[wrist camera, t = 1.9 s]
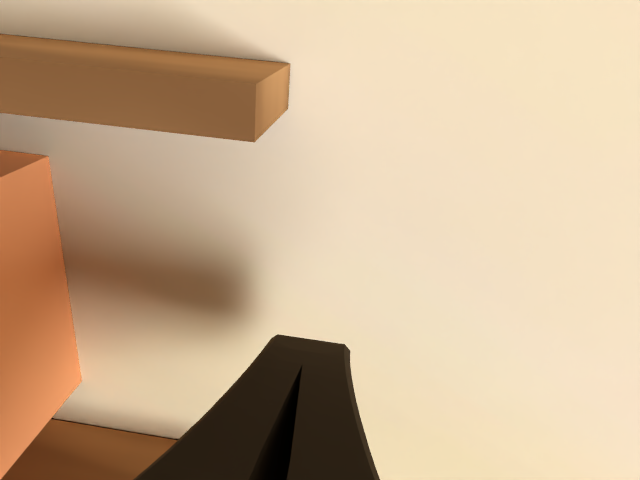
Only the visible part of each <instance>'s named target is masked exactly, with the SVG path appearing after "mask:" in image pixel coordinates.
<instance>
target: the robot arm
mask: <svg viewBox="0 0 640 480" xmlns="http://www.w3.org/2000/svg"><path fill="white" fill-rule="evenodd" d="M133 480H380V479H379V476H378V473H377V470H376V468H375V465H374V462H373V459H372V456H371V453H370V449H369V446H368V443H367V439H366V436H365V432H364V429H363V425H362V422H361V418H360V415H359V411H358V407H357V403H356V398H355V393H354V388H353V383H352V376H351V368H350V350H349V349H348V348H347V347H346V345H345V344H338V343H331V342H325V341H318V340H311V339H304V338H298V337H291V336H284V335H276V336H275V337H273V338H272V339H271V340H270V341H269V342H268V344H267V345H266V346H265V348H264V349H263V350H262V351H261V353H260V354H259V355H258V357H257V358H256V359H255V360H254V361H253V363H252V364H251V365H250V366H249V367H248V368H247V370H246V371H245V372H244V373H243V374H242V375H241V377H240V378H239V379H238V380H237V381H236V382H235V383H234V384H233V385H232V386H231V388H230V389H229V390H228V391H227V392H226V393H225V394H224V395H223V396H222V397H221V398H220V399H219V400H218V401H217V402H216V403H215V405H214V406H213V407H212V408H211V409H210V410H209V411H208V412H207V413H206V414H205V415H204V416H203V417H202V418H201V419H200V420H199V421H198V422H197V423H196V424H194V425H193V426H192V427H191V428H190V429H189V430H188V431H187V432H186V433H185V434H184V435H183V436H182V437H181V438H180V439H179V440H178V441H176V442H175V443H174V444H173V445H172V446H171V447H170V448H169V449H168V450H167V451H166V452H165V453H164V454H162V455H161V456H160V457H159V458H158V459H157V460H156V461H154V462H153V463H152V464H151V465H150V466H149V467H148V468H146V469H145V470H144V471H143V472H142V473H140V474H139V475H138V476H137V477H136V478H134V479H133Z"/></svg>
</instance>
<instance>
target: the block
mask: <svg viewBox="0 0 640 480" xmlns="http://www.w3.org/2000/svg"><path fill="white" fill-rule="evenodd" d="M81 381H82V379H81V372H80V366H79V359H78V352H77V346H76V339H75V332H74V326H73V319H72V312H71V305H70V299H69V292H68V285H67V279H66V272H65V265H64V258H63V252H62V245H61V238H60V232H59V225H58V218H57V211H56V205H55V198H54V191H53V185H52V178H51V171H50V164H49V158H48V156H44V155H36V154H28V153H20V152H12V151H5V150H0V480H1V479H2V477H3V476H4V475H5V474H6V472H7V471H8V470H9V469H10V468H11V466H12V465H13V464H14V463H15V462H16V460H17V459H18V458H19V457H20V455H21V454H22V453H23V452H24V451H25V449H26V448H27V447H28V446H29V445H30V443H31V442H32V441H33V440H34V438H35V437H36V436H37V435H38V434H39V432H40V431H41V430H42V429H43V428H44V426H45V425H46V424H47V423H48V421H49V420H50V419H51V418H52V417H53V415H54V414H55V413H56V412H57V411H58V409H59V408H60V407H61V406H62V404H63V403H64V402H65V401H66V400H67V398H68V397H69V396H70V395H71V394H72V392H73V391H74V390H75V389H76V387H77V386H78V385H79V384H80V383H81Z"/></svg>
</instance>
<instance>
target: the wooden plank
mask: <svg viewBox="0 0 640 480" xmlns="http://www.w3.org/2000/svg"><path fill="white" fill-rule="evenodd" d="M289 78H290V64H289V63H280V62H270V61H260V60H250V59H241V58H231V57H221V56H211V55H201V54H192V53H182V52H172V51H162V50H152V49H143V48H133V47H123V46H113V45H103V44H94V43H84V42H74V41H64V40H54V39H45V38H35V37H25V36H15V35H6V34H0V113H7V114H16V115H24V116H33V117H42V118H50V119H59V120H67V121H76V122H85V123H93V124H102V125H111V126H119V127H128V128H136V129H145V130H154V131H162V132H171V133H180V134H188V135H197V136H205V137H214V138H223V139H231V140H240V141H249V142H255V141H256V140H257V139H258V138H259V137H260V136H261V135H262V134H263V133H264V132H265V131H266V130H267V129H268V128H269V127H270V126H271V125H272V124H273V123H274V122H275V121H276V120H277V119H278V118H279V117H280V116H281V115H282V114H283V113H284V112H285V111H286V110H287V109H288V97H289ZM176 441H178V440H173V439H167V438H161V437H155V436H149V435H143V434H137V433H131V432H125V431H119V430H113V429H107V428H101V427H95V426H90V425H84V424H78V423H72V422H66V421H60V420H54V419H50V420H49V421H48V423H47V424H46V425H45V426H44V428H43V429H42V430H41V431H40V432H39V434H38V435H37V436H36V437H35V438H34V440H33V441H32V442H31V443H30V445H29V446H28V447H27V448H26V449H25V451H24V452H23V453H22V454H21V455H20V457H19V458H18V459H17V460H16V462H15V463H14V464H13V465H12V466H11V468H10V469H9V470H8V471H7V472H6V474H5V475H4V476H3V477H2V479H1V480H133V479H134V478H136V477H137V476H138V475H139V474H140V473H142V472H143V471H144V470H145V469H146V468H148V467H149V466H150V465H151V464H152V463H153V462H154V461H156V460H157V459H158V458H159V457H160V456H161V455H162V454H164V453H165V452H166V451H167V450H168V449H169V448H170V447H171V446H172V445H173V444H174V443H175V442H176Z"/></svg>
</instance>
